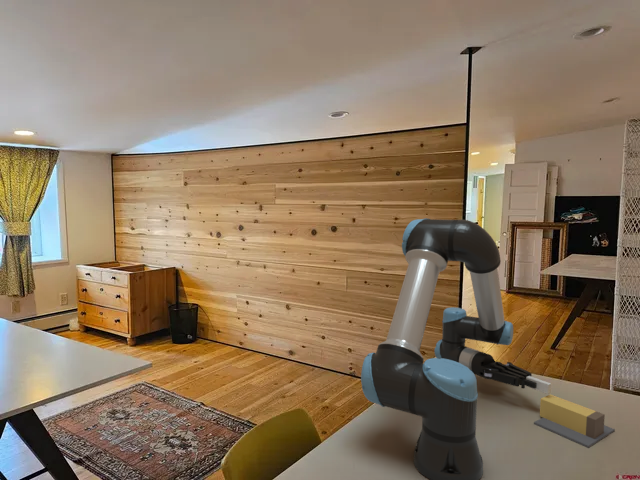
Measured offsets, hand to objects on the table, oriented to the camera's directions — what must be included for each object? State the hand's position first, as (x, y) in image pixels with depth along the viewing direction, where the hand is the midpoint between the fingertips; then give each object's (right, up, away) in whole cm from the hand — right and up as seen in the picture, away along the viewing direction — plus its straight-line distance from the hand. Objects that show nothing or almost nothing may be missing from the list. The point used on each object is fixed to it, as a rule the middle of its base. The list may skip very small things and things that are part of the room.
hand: (549, 388), depth 120 cm
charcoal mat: (+4, -9, -5) cm, 11 cm away
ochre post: (-1, -5, +1) cm, 5 cm away
